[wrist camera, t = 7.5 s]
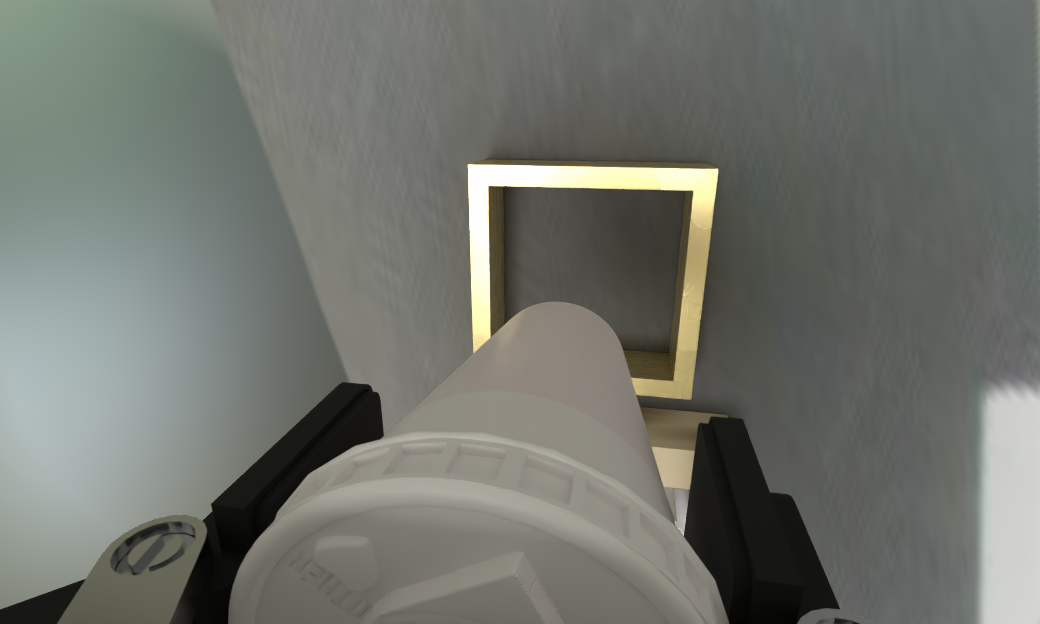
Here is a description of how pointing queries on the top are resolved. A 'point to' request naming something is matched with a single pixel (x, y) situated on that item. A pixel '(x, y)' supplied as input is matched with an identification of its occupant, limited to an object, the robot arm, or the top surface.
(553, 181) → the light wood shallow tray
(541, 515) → the smoothie
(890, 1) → the top surface
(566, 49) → the top surface
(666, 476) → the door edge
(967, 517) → the top surface
